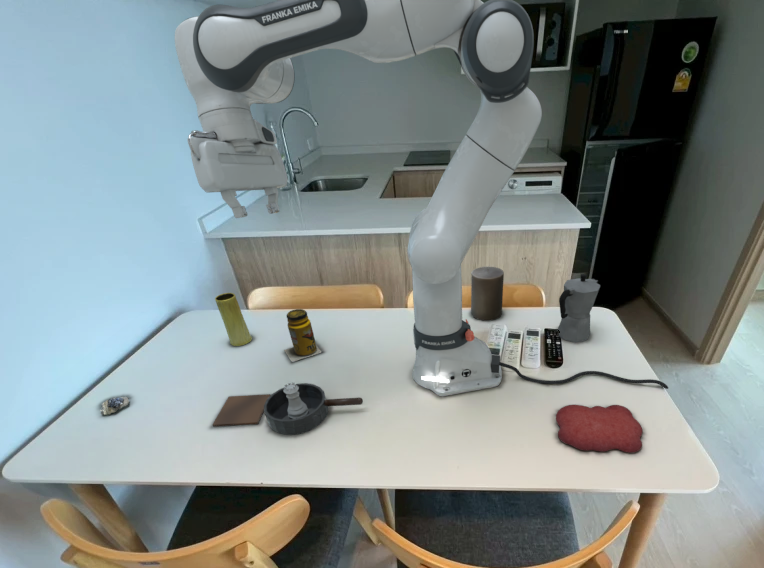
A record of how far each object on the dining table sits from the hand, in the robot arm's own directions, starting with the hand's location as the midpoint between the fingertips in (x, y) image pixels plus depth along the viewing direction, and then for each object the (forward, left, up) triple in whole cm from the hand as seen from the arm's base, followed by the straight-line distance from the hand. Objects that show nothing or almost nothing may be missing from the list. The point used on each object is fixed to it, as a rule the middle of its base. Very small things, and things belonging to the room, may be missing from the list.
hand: (259, 215), depth 79 cm
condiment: (+4, -15, -41) cm, 44 cm away
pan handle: (-11, +12, -39) cm, 42 cm away
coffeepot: (-72, -16, -41) cm, 84 cm away
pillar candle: (-50, -32, -41) cm, 72 cm away
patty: (-66, +22, -41) cm, 81 cm away
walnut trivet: (+13, +9, -41) cm, 44 cm away
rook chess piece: (-1, +12, -41) cm, 42 cm away
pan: (-1, +12, -41) cm, 43 cm away
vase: (+24, -23, -41) cm, 53 cm away
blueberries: (+45, +5, -41) cm, 61 cm away
